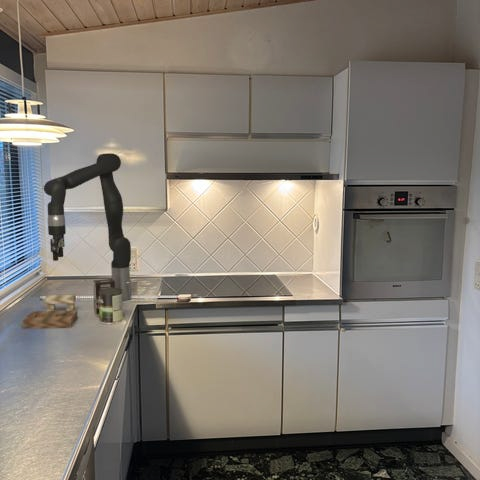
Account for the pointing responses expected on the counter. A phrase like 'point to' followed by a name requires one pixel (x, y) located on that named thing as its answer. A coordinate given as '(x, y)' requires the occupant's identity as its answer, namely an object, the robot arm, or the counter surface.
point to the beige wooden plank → (60, 301)
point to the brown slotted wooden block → (50, 319)
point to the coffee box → (98, 286)
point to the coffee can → (110, 305)
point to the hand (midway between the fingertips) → (58, 258)
